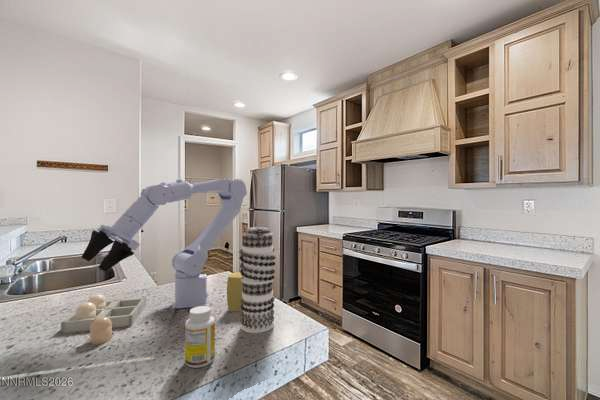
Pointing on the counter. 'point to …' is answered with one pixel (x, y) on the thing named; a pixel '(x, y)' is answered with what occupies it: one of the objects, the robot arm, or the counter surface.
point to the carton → (108, 315)
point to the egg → (100, 330)
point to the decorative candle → (257, 280)
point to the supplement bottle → (199, 337)
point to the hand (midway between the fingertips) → (93, 264)
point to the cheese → (234, 292)
